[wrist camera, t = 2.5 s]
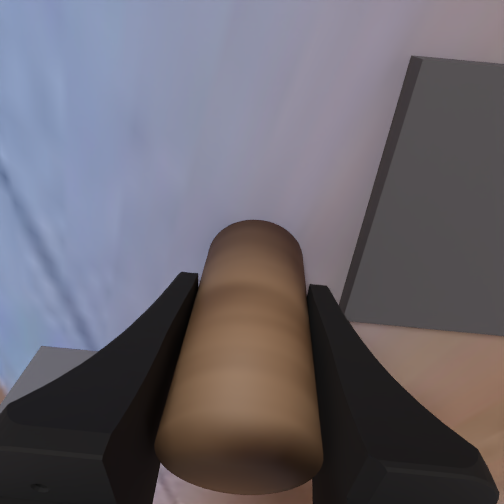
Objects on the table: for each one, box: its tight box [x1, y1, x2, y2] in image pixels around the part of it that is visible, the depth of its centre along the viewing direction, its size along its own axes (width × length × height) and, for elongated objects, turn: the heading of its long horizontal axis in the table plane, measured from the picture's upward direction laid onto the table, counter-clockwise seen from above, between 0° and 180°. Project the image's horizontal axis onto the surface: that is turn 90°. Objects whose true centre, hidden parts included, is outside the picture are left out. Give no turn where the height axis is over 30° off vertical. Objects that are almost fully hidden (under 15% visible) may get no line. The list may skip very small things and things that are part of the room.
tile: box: [0, 346, 98, 413], centre depth 16 cm, size 2×6×8 cm, turn 86°
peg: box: [154, 220, 323, 495], centre depth 12 cm, size 4×4×8 cm
